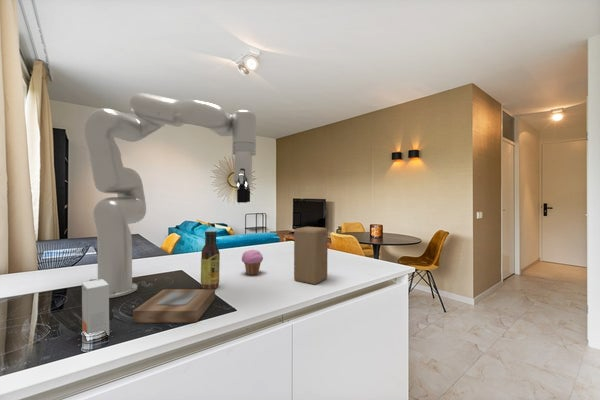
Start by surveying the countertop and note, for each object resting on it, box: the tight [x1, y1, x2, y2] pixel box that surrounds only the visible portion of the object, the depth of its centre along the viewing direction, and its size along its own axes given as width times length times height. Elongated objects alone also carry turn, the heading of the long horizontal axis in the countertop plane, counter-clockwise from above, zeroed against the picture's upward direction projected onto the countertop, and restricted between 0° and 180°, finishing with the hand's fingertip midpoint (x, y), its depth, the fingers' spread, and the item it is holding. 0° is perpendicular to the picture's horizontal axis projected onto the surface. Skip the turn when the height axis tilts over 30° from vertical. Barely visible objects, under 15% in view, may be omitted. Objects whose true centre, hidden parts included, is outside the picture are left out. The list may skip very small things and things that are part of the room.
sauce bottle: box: [200, 230, 221, 289], centre depth 96 cm, size 7×6×20 cm
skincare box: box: [81, 279, 110, 337], centre depth 63 cm, size 6×4×12 cm
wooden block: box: [293, 226, 329, 285], centre depth 106 cm, size 10×10×20 cm
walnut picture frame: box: [132, 288, 216, 324], centre depth 77 cm, size 16×16×3 cm
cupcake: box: [241, 249, 264, 276], centre depth 114 cm, size 9×9×10 cm
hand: (243, 202), depth 90 cm, fingers open, 9 cm apart
